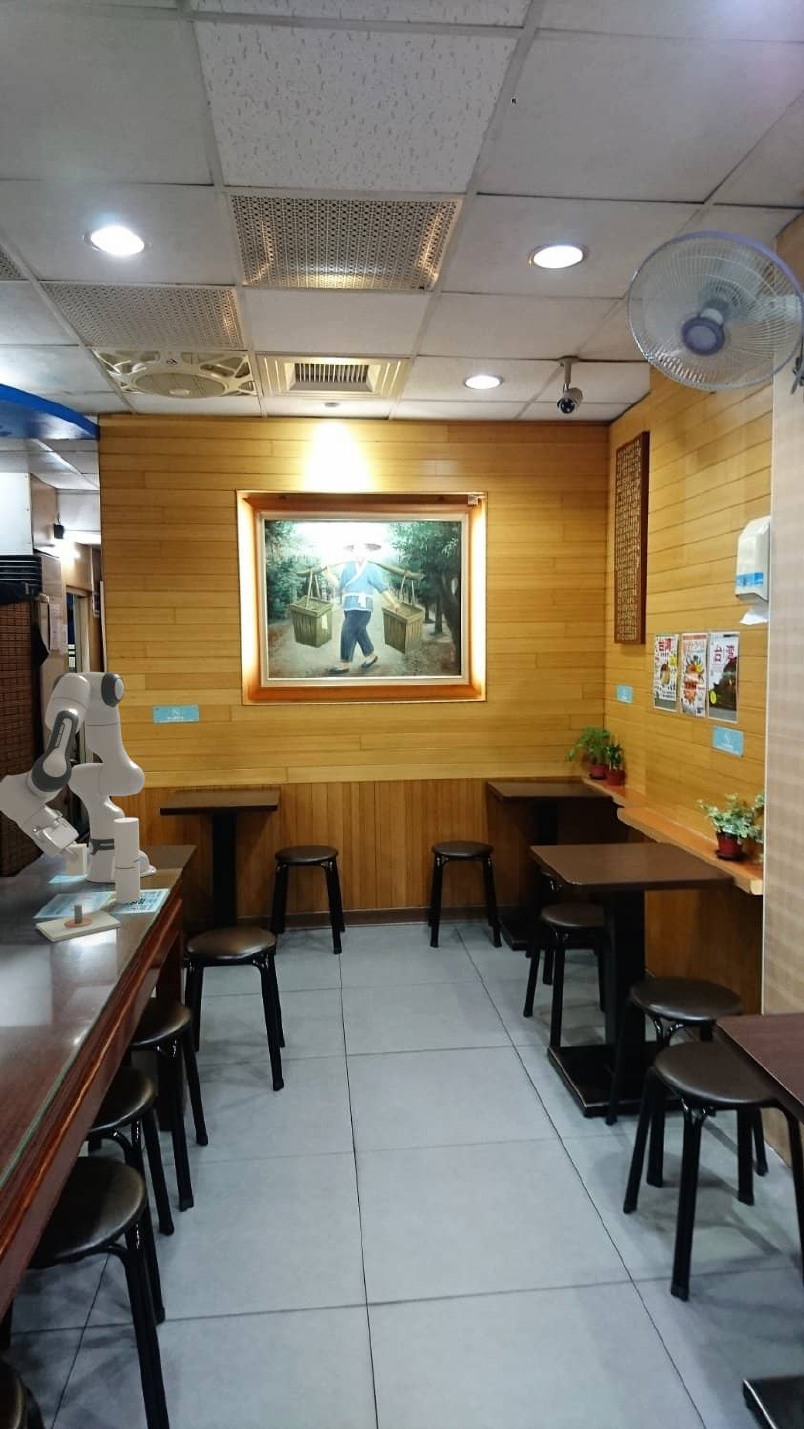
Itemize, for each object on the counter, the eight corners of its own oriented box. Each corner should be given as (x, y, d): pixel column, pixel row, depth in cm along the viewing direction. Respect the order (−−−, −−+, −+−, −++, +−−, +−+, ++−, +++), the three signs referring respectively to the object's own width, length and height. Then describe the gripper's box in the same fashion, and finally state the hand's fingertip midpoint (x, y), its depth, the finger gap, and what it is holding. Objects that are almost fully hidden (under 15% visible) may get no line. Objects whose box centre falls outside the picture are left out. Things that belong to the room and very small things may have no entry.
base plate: (101, 914, 226) (101, 893, 226) (120, 926, 216) (120, 904, 215) (36, 928, 214) (35, 906, 214) (52, 942, 204) (52, 919, 203)
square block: (66, 876, 216) (66, 847, 216) (70, 872, 220) (70, 844, 220) (83, 875, 217) (82, 847, 216) (86, 871, 221) (86, 843, 221)
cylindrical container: (145, 898, 241) (143, 818, 239) (128, 904, 235) (126, 823, 233) (128, 895, 244) (126, 816, 242) (110, 901, 238) (108, 821, 236)
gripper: (38, 822, 206) (77, 858, 208) (60, 809, 227) (95, 841, 229) (21, 840, 206) (60, 875, 208) (44, 825, 226) (79, 857, 228)
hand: (79, 857), depth 218 cm, fingers closed on square block, 4 cm apart
